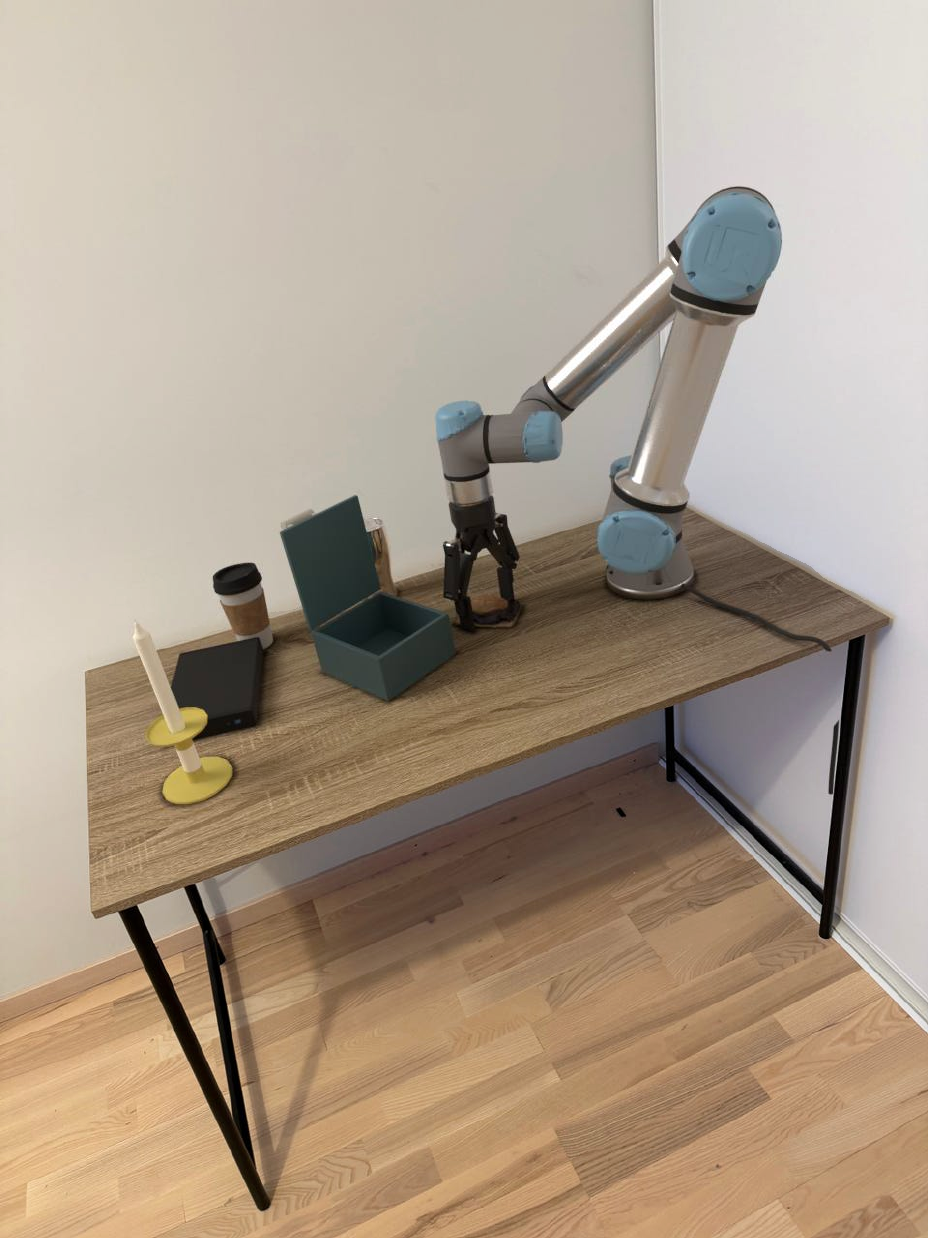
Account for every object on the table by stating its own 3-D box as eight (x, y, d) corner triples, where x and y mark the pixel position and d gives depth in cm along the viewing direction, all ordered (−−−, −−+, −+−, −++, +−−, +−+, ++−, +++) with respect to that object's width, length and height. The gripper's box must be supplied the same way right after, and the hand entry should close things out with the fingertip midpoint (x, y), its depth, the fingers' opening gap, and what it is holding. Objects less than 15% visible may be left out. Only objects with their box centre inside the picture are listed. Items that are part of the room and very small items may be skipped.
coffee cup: (269, 656, 149) (245, 581, 141) (226, 656, 151) (200, 582, 143) (287, 631, 156) (265, 558, 148) (245, 632, 158) (222, 560, 150)
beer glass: (406, 594, 161) (391, 523, 154) (375, 608, 158) (358, 536, 151) (388, 583, 166) (373, 513, 159) (358, 596, 163) (341, 526, 156)
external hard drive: (263, 650, 150) (259, 636, 149) (257, 725, 130) (251, 710, 129) (184, 667, 149) (178, 653, 148) (165, 745, 129) (158, 730, 128)
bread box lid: (357, 495, 138) (327, 490, 143) (282, 532, 129) (252, 525, 134) (381, 589, 146) (351, 580, 152) (311, 630, 137) (282, 620, 142)
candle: (191, 754, 126) (130, 597, 113) (246, 762, 123) (189, 601, 109) (148, 798, 119) (77, 636, 105) (205, 809, 115) (138, 642, 102)
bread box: (456, 653, 140) (448, 613, 136) (388, 701, 131) (378, 659, 127) (388, 629, 151) (380, 591, 147) (321, 671, 141) (310, 632, 137)
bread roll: (453, 628, 148) (450, 610, 146) (467, 604, 154) (464, 586, 153) (512, 629, 144) (509, 611, 142) (524, 604, 151) (521, 586, 149)
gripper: (497, 471, 147) (512, 582, 158) (405, 520, 134) (429, 639, 145) (531, 476, 143) (544, 591, 153) (439, 528, 129) (461, 650, 140)
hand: (488, 614), depth 149 cm, fingers closed on bread roll, 10 cm apart
